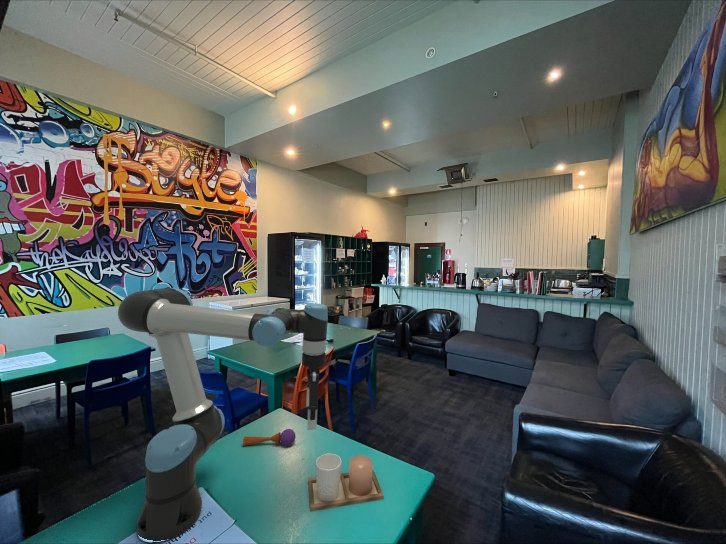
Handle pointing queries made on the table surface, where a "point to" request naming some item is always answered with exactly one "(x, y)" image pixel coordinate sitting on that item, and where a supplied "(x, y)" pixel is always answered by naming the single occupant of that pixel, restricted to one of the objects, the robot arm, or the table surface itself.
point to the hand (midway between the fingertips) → (310, 417)
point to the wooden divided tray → (343, 494)
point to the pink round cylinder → (360, 475)
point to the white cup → (328, 476)
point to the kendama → (273, 438)
